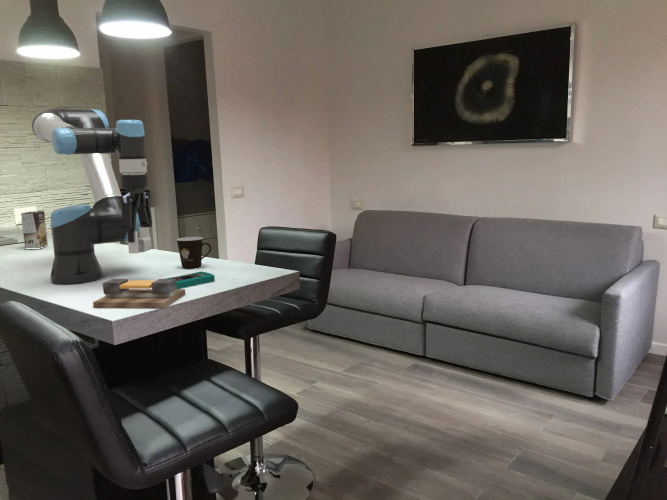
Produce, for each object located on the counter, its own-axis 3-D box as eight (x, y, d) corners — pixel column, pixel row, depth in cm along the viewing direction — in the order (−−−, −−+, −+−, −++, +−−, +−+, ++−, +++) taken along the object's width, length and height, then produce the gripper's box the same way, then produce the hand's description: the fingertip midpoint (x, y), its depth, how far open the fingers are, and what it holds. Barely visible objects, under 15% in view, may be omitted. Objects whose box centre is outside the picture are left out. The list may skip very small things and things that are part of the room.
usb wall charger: (151, 249, 169) (150, 237, 169) (140, 253, 163) (139, 240, 162) (139, 249, 170) (138, 236, 169) (128, 253, 163) (126, 240, 163)
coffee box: (40, 249, 240) (35, 212, 237) (24, 250, 239) (20, 213, 237) (48, 246, 249) (44, 210, 246) (33, 246, 248) (29, 211, 246)
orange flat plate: (119, 288, 144) (119, 285, 144) (130, 283, 150) (130, 280, 150) (149, 288, 143) (149, 285, 143) (159, 283, 149) (159, 280, 149)
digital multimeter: (159, 288, 163) (158, 278, 163) (202, 279, 174) (201, 270, 173) (172, 292, 158) (171, 282, 158) (216, 282, 169) (215, 273, 168)
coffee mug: (174, 267, 191) (171, 239, 190) (195, 263, 197) (193, 236, 196) (192, 272, 183) (190, 242, 182) (214, 267, 190) (212, 238, 188)
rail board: (93, 307, 141) (91, 286, 140) (120, 294, 155) (118, 275, 154) (164, 308, 139) (162, 287, 138) (185, 294, 153) (184, 275, 152)
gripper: (129, 175, 152) (136, 257, 156) (160, 172, 171) (165, 245, 176) (103, 175, 153) (111, 257, 157) (137, 172, 172) (143, 244, 177)
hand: (139, 250), depth 166 cm, fingers closed on usb wall charger, 7 cm apart
